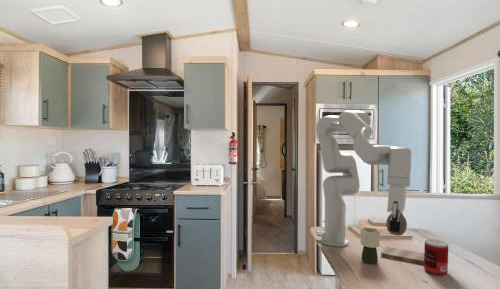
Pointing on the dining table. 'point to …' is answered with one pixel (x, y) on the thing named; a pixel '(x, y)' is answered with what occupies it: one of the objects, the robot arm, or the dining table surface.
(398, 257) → the walnut board
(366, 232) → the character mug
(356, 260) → the dining table surface
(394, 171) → the robot arm
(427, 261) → the canned food
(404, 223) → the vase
